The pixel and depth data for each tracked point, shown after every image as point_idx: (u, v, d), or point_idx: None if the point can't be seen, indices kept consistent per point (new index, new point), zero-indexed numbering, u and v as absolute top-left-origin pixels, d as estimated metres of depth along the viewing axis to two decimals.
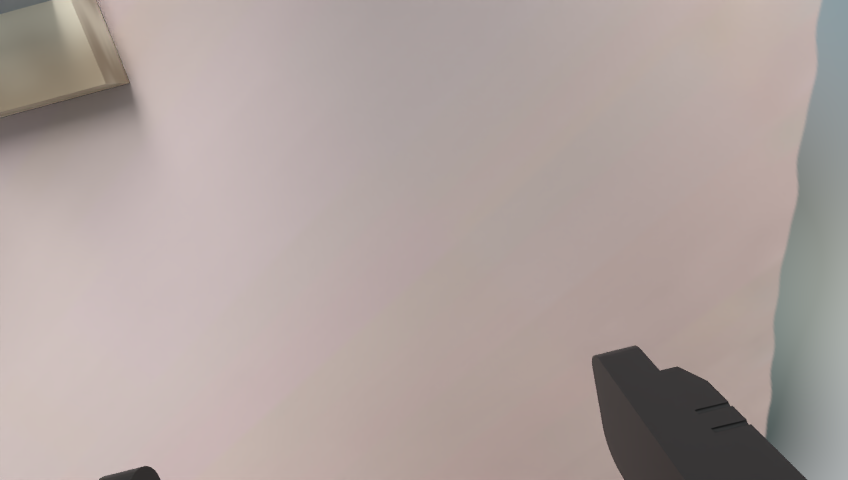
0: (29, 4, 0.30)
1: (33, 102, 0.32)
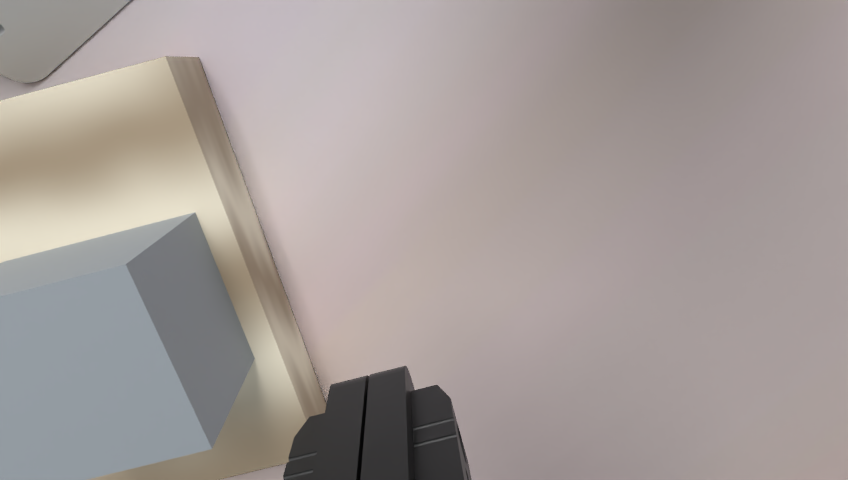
0: None
1: (212, 479, 0.22)
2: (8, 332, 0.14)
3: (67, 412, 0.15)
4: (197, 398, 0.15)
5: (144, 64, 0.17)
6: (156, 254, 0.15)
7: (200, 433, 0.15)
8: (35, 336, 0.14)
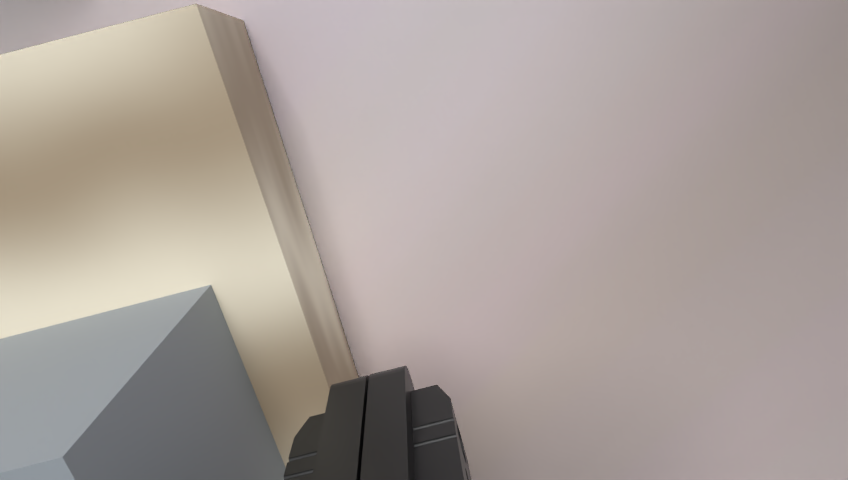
0: None
1: None
2: None
3: None
4: None
5: (157, 18, 0.09)
6: (138, 399, 0.07)
7: None
8: None
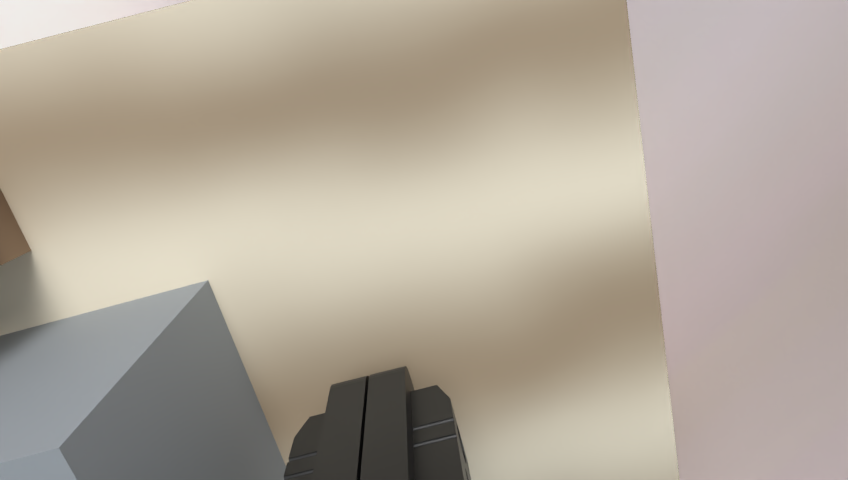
0: None
1: None
2: None
3: None
4: None
5: None
6: (135, 391, 0.07)
7: None
8: None
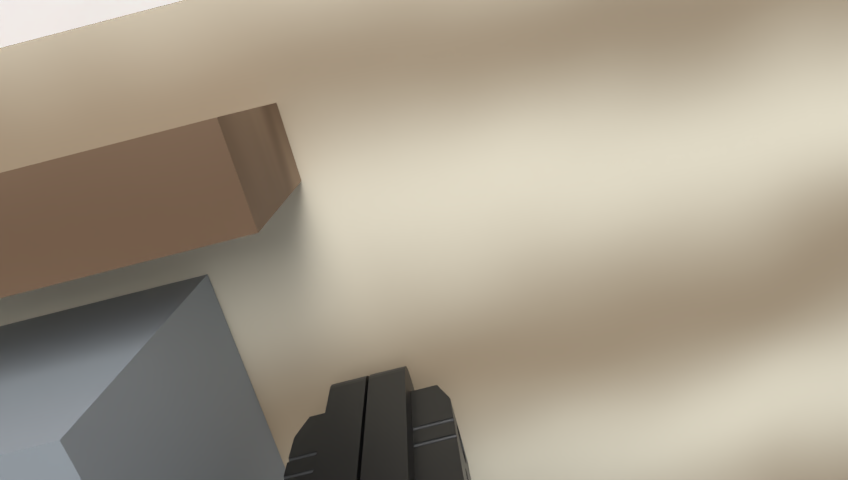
0: None
1: None
2: None
3: None
4: None
5: None
6: (135, 384, 0.07)
7: None
8: None
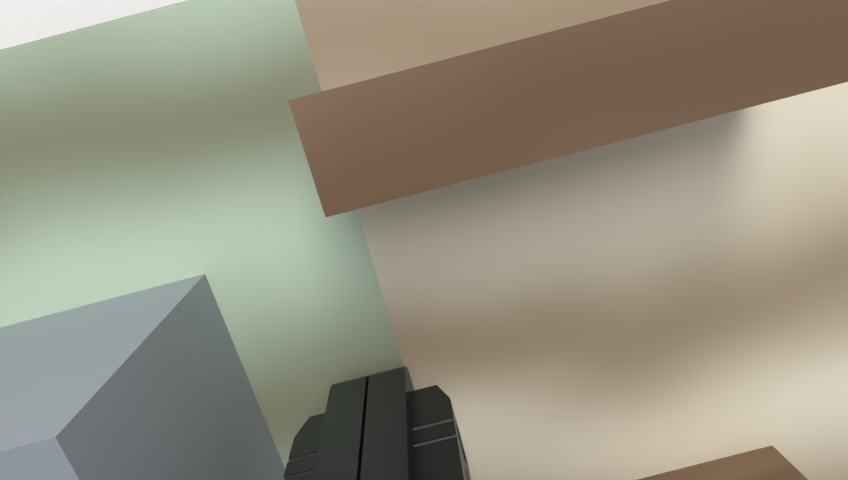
0: None
1: None
2: None
3: None
4: None
5: None
6: (132, 382, 0.07)
7: None
8: None
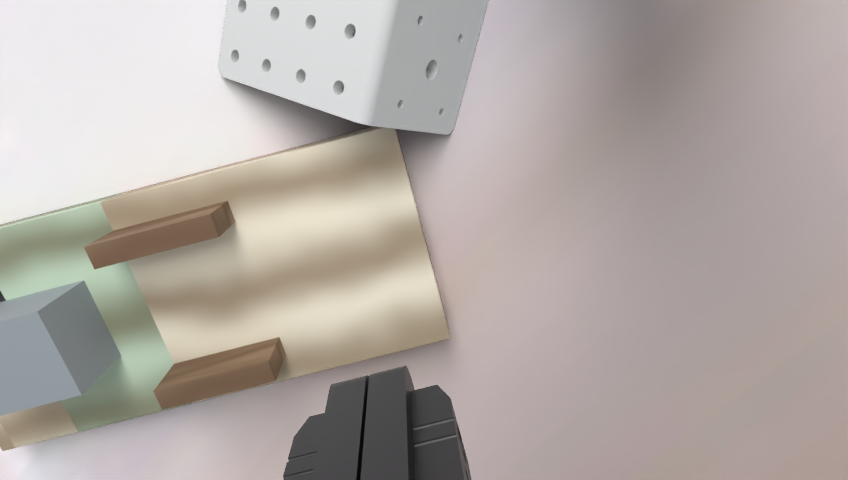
0: None
1: (390, 352, 0.39)
2: None
3: (13, 377, 0.33)
4: (74, 371, 0.33)
5: (383, 129, 0.34)
6: (55, 305, 0.33)
7: (75, 387, 0.33)
8: None
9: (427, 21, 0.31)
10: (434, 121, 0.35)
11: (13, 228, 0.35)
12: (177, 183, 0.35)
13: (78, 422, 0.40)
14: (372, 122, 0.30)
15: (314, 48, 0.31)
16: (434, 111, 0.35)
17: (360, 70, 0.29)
